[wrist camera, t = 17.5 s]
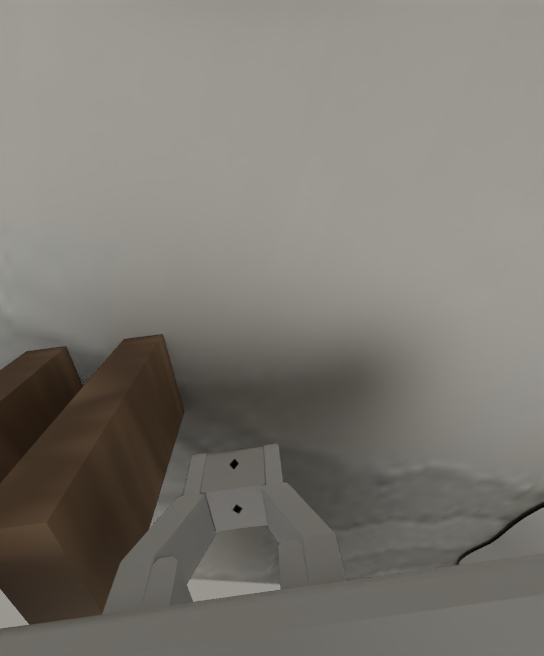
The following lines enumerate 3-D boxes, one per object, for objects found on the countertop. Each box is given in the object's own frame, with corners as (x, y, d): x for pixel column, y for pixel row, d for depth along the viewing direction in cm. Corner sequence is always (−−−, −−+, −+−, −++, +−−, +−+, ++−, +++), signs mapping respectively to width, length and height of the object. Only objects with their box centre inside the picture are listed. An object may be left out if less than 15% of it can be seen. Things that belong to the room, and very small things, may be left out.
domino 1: (162, 334, 16) (46, 522, 7) (184, 411, 18) (116, 636, 9) (123, 339, 16) (-44, 534, 7) (150, 416, 18) (46, 645, 9)
